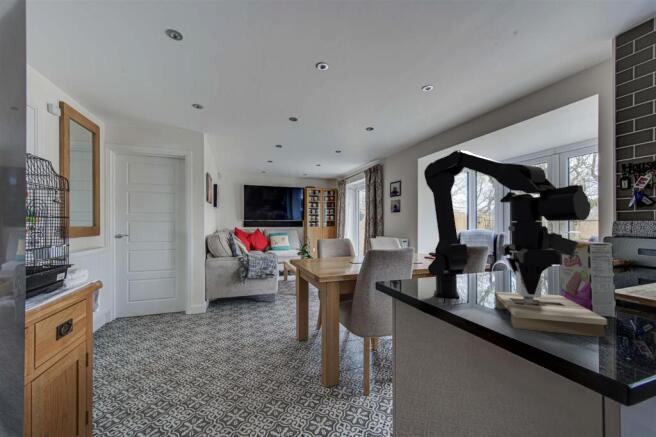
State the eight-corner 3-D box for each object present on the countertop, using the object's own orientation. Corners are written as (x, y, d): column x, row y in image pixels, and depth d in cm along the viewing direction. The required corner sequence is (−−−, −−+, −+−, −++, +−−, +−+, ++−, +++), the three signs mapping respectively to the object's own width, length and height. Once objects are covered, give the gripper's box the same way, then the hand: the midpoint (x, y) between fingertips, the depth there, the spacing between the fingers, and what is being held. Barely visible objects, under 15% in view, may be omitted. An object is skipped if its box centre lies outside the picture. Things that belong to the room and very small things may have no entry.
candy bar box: (559, 303, 72) (557, 240, 73) (582, 304, 71) (579, 240, 72) (591, 317, 61) (588, 242, 62) (618, 318, 60) (614, 242, 61)
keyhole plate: (494, 305, 71) (494, 291, 71) (561, 310, 66) (561, 295, 66) (515, 330, 54) (515, 311, 54) (607, 339, 49) (606, 319, 50)
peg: (515, 314, 64) (514, 270, 64) (536, 315, 62) (535, 271, 62) (521, 319, 60) (519, 272, 60) (543, 321, 58) (541, 273, 59)
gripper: (595, 220, 50) (599, 307, 50) (552, 221, 68) (554, 286, 67) (523, 221, 54) (525, 302, 53) (499, 222, 71) (501, 283, 71)
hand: (528, 292), depth 61 cm, fingers closed on peg, 4 cm apart
